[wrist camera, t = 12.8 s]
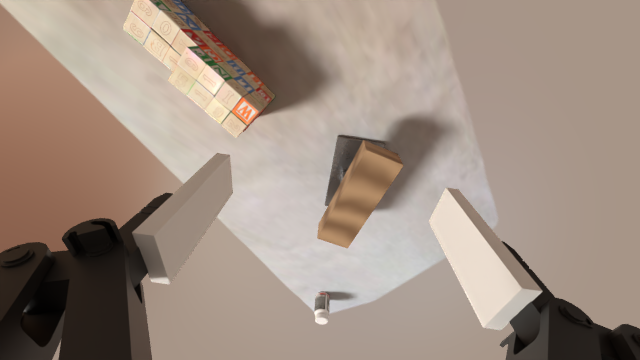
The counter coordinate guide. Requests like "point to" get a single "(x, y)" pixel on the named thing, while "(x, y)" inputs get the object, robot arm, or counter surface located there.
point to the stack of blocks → (199, 63)
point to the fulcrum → (343, 162)
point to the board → (358, 193)
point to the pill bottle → (321, 308)
